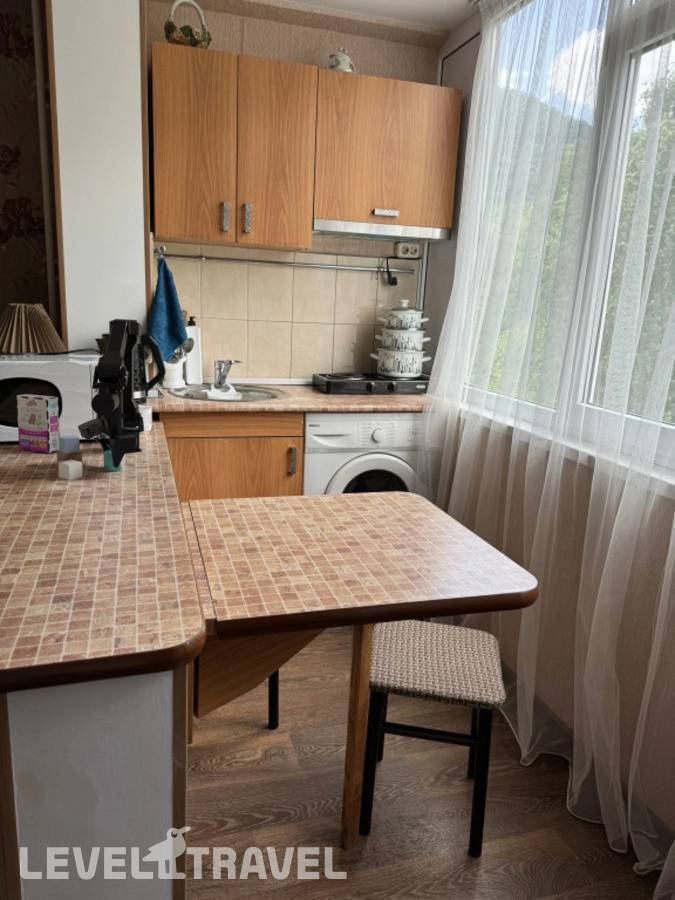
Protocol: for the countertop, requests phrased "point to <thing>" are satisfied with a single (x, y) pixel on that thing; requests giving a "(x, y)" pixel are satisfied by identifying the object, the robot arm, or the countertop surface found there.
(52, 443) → the candy bar box
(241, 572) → the countertop surface
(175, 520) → the countertop surface
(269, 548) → the countertop surface
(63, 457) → the tower base
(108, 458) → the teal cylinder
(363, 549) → the countertop surface
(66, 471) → the cube
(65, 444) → the tower top
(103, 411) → the robot arm
